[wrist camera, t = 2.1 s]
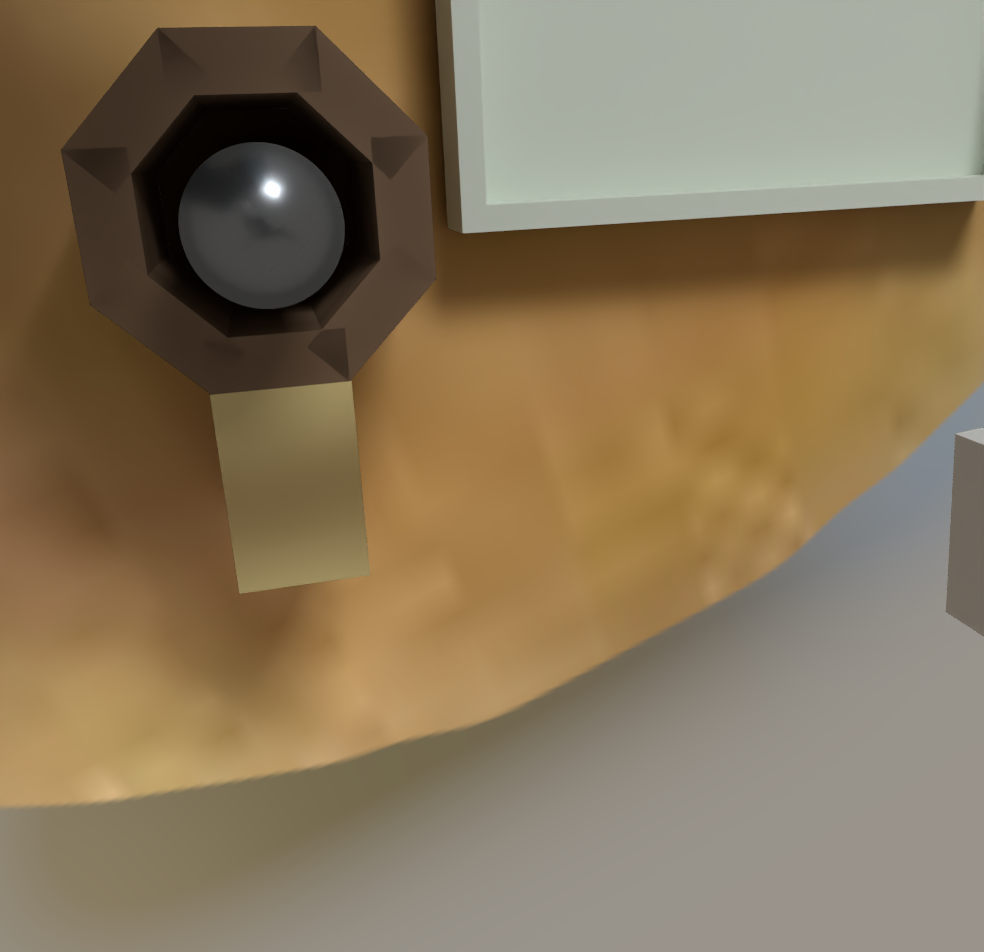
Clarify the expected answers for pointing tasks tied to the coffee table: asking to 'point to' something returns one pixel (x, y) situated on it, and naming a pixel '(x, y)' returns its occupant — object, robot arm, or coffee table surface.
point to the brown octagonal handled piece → (252, 331)
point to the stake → (261, 225)
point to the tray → (705, 108)
